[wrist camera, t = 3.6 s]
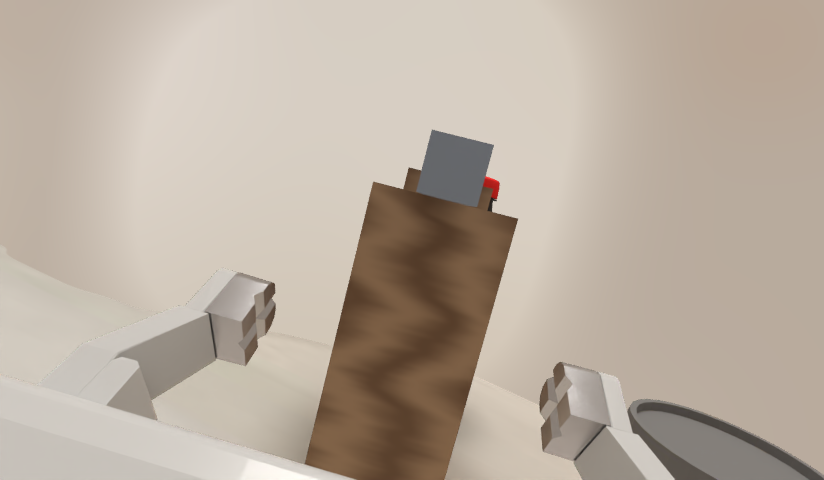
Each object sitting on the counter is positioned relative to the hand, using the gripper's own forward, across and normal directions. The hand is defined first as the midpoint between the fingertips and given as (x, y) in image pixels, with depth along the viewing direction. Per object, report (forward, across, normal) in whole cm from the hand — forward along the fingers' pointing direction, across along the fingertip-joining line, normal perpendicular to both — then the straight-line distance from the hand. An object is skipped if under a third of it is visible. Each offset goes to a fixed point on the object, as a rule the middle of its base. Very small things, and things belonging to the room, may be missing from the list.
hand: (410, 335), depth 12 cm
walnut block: (+10, 0, +31) cm, 33 cm away
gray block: (+18, 0, +6) cm, 19 cm away
